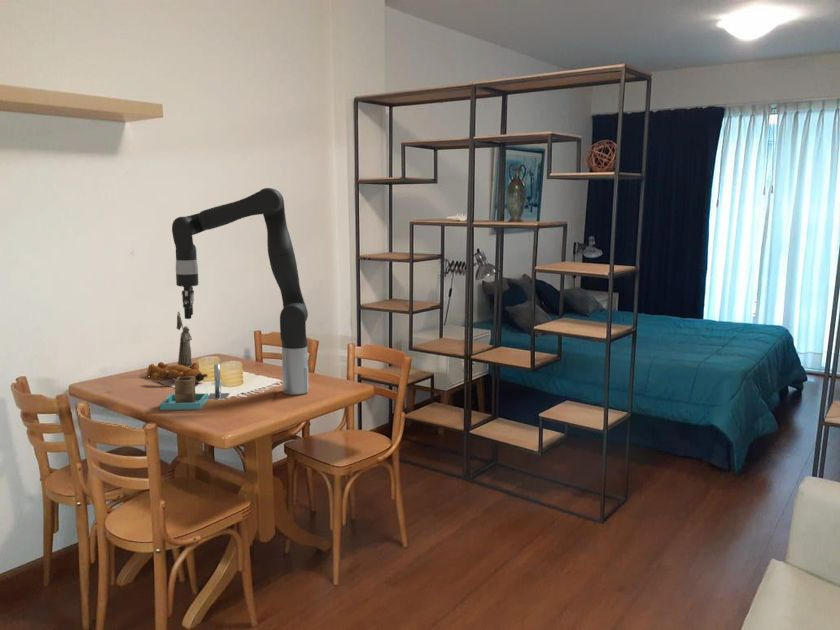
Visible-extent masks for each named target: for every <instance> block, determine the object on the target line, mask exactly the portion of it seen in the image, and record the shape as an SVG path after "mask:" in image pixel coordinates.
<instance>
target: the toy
mask: <svg viewBox="0 0 840 630" xmlns="http://www.w3.org/2000/svg"><path fill="white" fill-rule="evenodd" d="M191 367H192V368H190V367H186V366H183V365H178V364H171V365H169V364H165V363H164V362H162V361H160V362H158V364H157V366H156V365H155V363H151V364H149V365H148V368H147V373H146V376H151V378H152V379H153V380H155V381H156V382H157V381H158V380H159V378H166V377H170V378H172V379H174V380H176V378H177V377H190V376H195V384H197V382H198V383H200V382H201V381H203V380H204V379H205V378H207V377H209V374H208V373H203V372H202V371H200V369H199V368H200V365H199V362H192V365H191Z"/></svg>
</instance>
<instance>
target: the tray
mask: <svg viewBox="0 0 840 630" xmlns="http://www.w3.org/2000/svg"><path fill="white" fill-rule="evenodd" d="M208 396H209V393H208V392H207V393H195V397H196V402H195V403H176V401H175V393H169V395H167V397H165V399H164V400H162V402H160V404H159V405H160V406H159V408H160V411H186V410H187V411H189V410H191V411H192V410H193V411H195V410H198V411H199V410H202V409H203V407H204V405H205V404H207V402H208V400H209V399H208Z"/></svg>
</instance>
